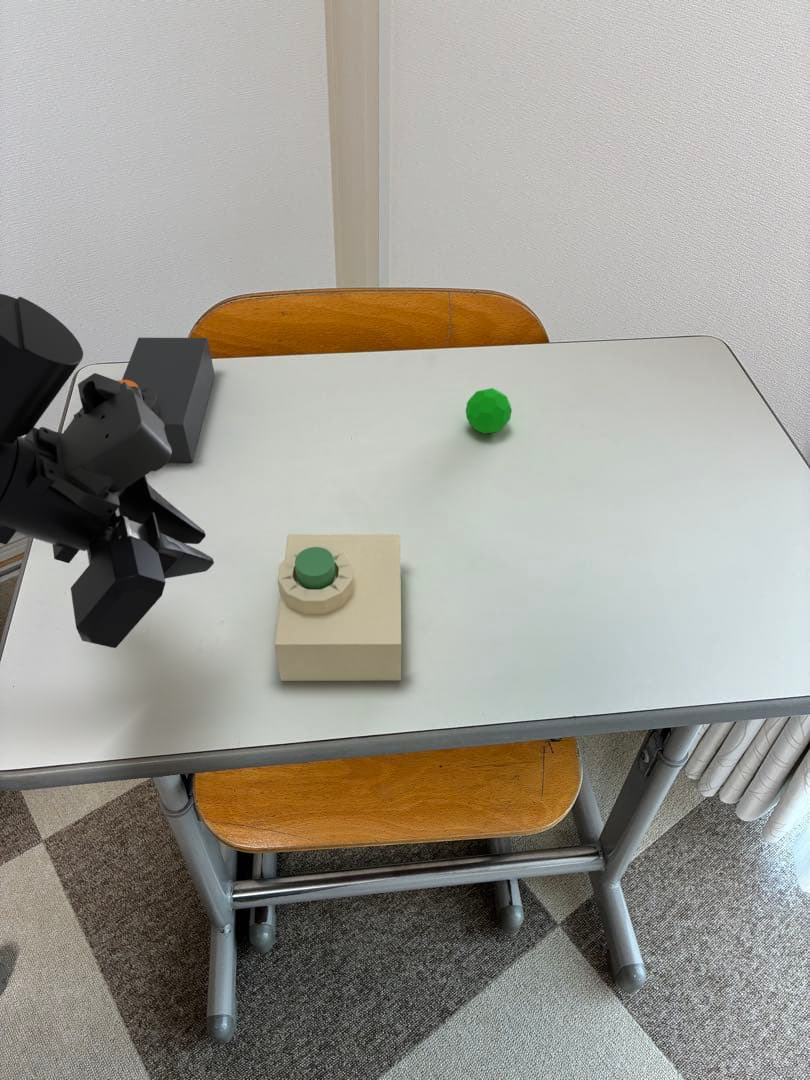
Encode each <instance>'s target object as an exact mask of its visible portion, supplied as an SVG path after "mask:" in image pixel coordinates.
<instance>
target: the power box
mask: <svg viewBox="0 0 810 1080" xmlns="http://www.w3.org/2000/svg"><path fill="white" fill-rule="evenodd" d="M286 537H287V538H286V544H285V545H286V546H285V553H284V554H285V555H284V559H283V560H282V562H280V564H279V566H278V575H277V583H278V589H279V594H280V596H279V604H278V611H277V619H276V626H275V627H276V629H275V636H274V650H275V655H276V660H277V661H276V662H277V667H278V670H279V671H278V672H279V677H280V681H281V682H288V681H289V682H319V681H321V682H325V681H326V682H327V681H330V682H331V681H333V682H336V681H338V682H339V681H342V682H344V681H353V682H354V681H357V682H358V681H359V682H360V681H361V682H362V681H363V682H364V681H371V682H372V681H401V679H402V586H401V585H402V582H401V578H402V577H401V535H400V534H287V536H286ZM311 547H321V548H324V549H327V550H328V551H330V552H331V554H332V555H333V557H334V561H335V578H334V580H333V582H332V583H331V584H330V585H328V586H327V587H325V588H322V589H308V588H305V587H303V586H302V585H301V584H300V583H299V582H298V580H297V576H296V569H295V559H296V557H297V555H298V554H299V553H300V552H301V551H303V550H305V549H307V548H311Z"/></svg>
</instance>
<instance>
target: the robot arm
mask: <svg viewBox="0 0 810 1080" xmlns="http://www.w3.org/2000/svg"><path fill="white" fill-rule="evenodd" d="M83 358H84V350H83V348H82V346H81V344H80V342H79V340H78V339H77V338H76V336H75V335H74V333H72V331H71V330H70V329H69V328H68V327H67V326H66V325H65V324H63V322H61V321H60V320H59V319H58V318H57V317H55V316H54V315H53V314H51V313H50V312H49V311H47V310H46V309H44V308H43V307H41V306H39V305H38V304H35V303H34V302H32V301H30V300H28V299H26V298H24V297H22V296H18V298H16V297H13V296H11V295H7V294H3V293H0V544H1V545H2V544H3V545H6V546H7V545H8V544H9V542H10V540H12V538H13V537H14V535H15V534H18V535H20V536H21V535H22V536H25V537H28V538H31V539H34V540H38V541H41V542H43V543H47V544H50V545H51V546H52V551H53V552H52V553H53V559H54V560H56V561H59V562H63V563H66V564H70V563H71V561H72V560H74V558H75V557H76V555H77V554H78V553H79V552H80V551H83V552H87V560H88V566H87V567H86V568H85V569H84V571H83V572H82V573H81V575H80V576H79V577H78V578H77V579H76V580H75V582H74V583H73V584H72V586H71V587H70V594H71V600H72V608H73V615H74V622H75V629H76V630H77V633H78V635H79V637H80V639H81V641H82V642H86V643H90V644H94V645H99V646H104V647H107V648H113V649H117V647H119V645H120V644H121V643H122V642H123V640H125V639H126V637H127V636H128V635H129V634H130V633H131V632H132V631H133V629H134V628H135V627H136V626H137V625H138V623H139V622H141V620H142V619H143V618H144V617H145V616H146V614H147V613H149V611H150V610H151V609H152V608H153V606H154V605H155V604H156V603H157V602H158V600H160V598H161V597H162V596H163V593H164V590H165V586H166V579H171V578H177V577H183V576H188V575H193V574H199V573H204V572H207V571H208V570H210V569H211V567H213V565H214V564H215V561H214V558H213V557H212V556H210V555H208V554H206V553H204V552H203V551H201V550H199V549H197V548H195V547H192V546H191V545H199V544H200V543H201V542H203V540H204V539H205V538H206V531H205V530H204V529H203V528H201V527H200V526H199V525H198V524H196V523H195V522H194V521H193V520H192V519H190V518H189V517H188V516H187V515H185V514H184V513H183V512H181V511H180V510H179V509H178V508H176V507H175V506H174V505H173V504H172V503H171V502H169V501H168V500H167V499H166V498H164V497H163V496H162V494H160V493H159V492H158V491H157V490H155V488H153V487H152V485H150V483H149V482H148V479H147V476H146V475H148V474H149V473H151V472H157V471H159V470H160V469H162V468H163V467H165V466H166V465H167V464H168V463H167V462H168V461H169V459H170V457H171V454H172V450H171V446H170V444H169V443H168V440H167V437H166V434H165V430H164V428H165V426H164V423H163V421H162V420H161V419H160V418H159V417H158V416H157V415H156V414H155V413H154V412H153V411H152V410H151V409H150V408H149V407H148V406H147V405H146V404H145V403H144V401H143V398H142V394H141V391H140V389H139V388H138V387H135V386H132V387H130V386H128V385H127V384H126V383H125V382H123V383H120V382H118V381H117V380H116V379H113V378H110V377H107V376H104V375H102V374H100V373H97V372H95V373H92V374H91V375H89V376H88V377H86V378H84V379H83V380H81V381H80V382H79V383H78V384H77V388H78V389H77V390H78V394H79V398H80V404H81V408H80V409H79V411H78V412H76V413H74V414H73V419H72V420H71V421H70V423H69V424H68V426H67V427H66V428H65V430H64V431H63V432H58V431H55V430H52V429H50V428H47V427H44V426H41V427H39V428H37V427H35V426H36V425H37V423H38V422H39V421H40V419H41V418H42V417H43V415H44V414H45V412H46V411H47V410H48V408H49V407H50V405H51V404H52V403H53V401H54V400H55V398H56V397H57V395H58V394H59V393H60V391H61V390H62V388H63V387H64V385H65V384H66V383H67V381H68V380H70V377H71V376H72V374H73V373H74V371H75V370H76V369H77V367H78V366H79V364H80V363H81V362H82V361H83ZM23 436H24V437H23ZM189 544H190V545H189Z"/></svg>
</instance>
